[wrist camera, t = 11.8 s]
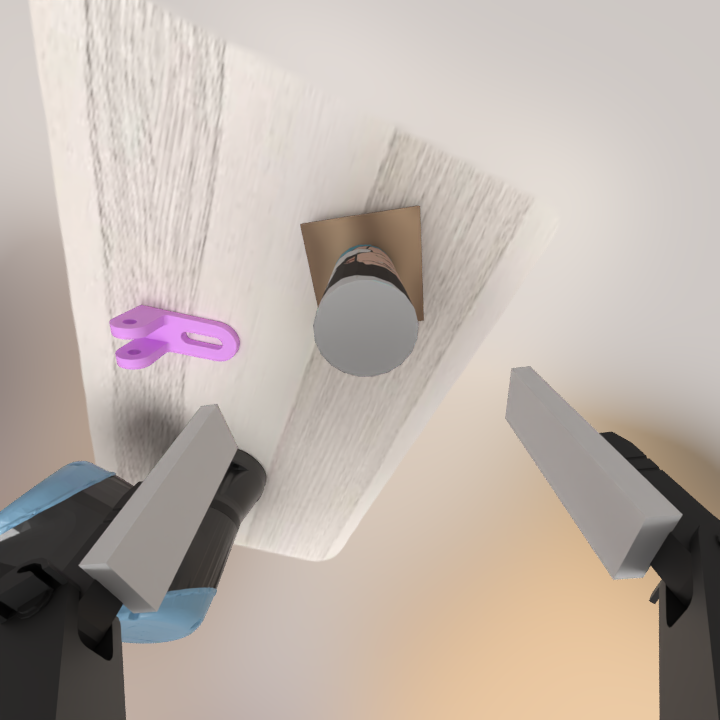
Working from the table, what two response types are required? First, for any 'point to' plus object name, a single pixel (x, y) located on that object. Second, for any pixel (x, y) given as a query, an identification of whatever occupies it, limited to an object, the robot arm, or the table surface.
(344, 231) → the stand
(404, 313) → the printed can
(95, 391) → the table surface
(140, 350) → the bracket
